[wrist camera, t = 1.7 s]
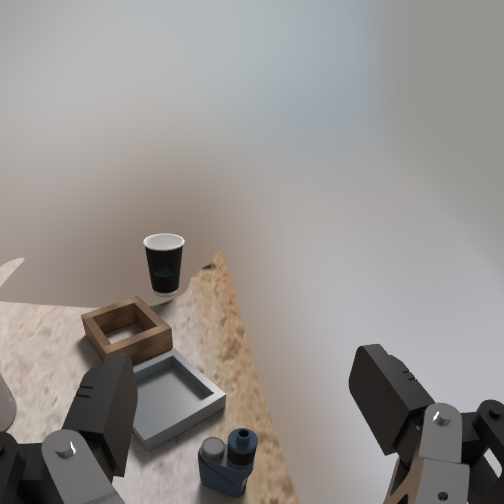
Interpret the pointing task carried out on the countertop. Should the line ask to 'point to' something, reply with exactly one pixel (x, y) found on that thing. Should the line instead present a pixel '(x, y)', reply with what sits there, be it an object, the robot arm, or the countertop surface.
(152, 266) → the dixie cup
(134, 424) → the tray
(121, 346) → the hollow wooden square
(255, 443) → the vaping device
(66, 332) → the countertop surface
